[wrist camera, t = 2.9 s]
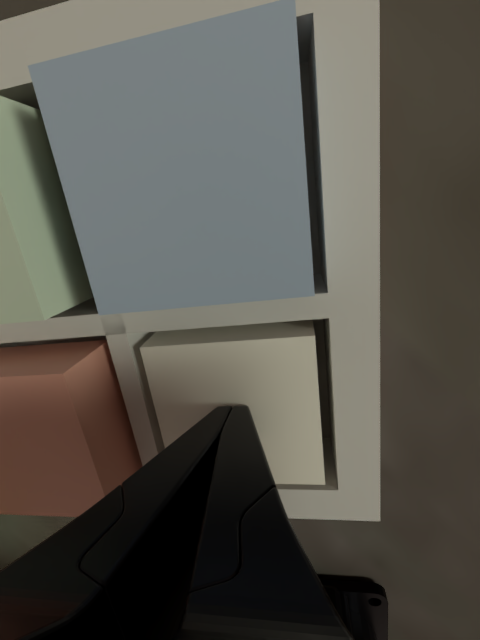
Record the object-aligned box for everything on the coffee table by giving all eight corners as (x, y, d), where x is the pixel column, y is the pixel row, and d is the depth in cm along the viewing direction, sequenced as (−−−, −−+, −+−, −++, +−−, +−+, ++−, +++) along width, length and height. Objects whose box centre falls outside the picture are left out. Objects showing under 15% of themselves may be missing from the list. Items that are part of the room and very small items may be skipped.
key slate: (309, 273, 8) (314, 296, 6) (140, 291, 9) (98, 315, 7) (294, 55, 7) (295, -4, 5) (94, 100, 7) (27, 65, 5)
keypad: (362, 455, 12) (379, 521, 9) (45, 455, 14) (-6, 508, 12) (352, 2, 8) (379, -91, 5) (-91, 112, 10) (-213, 83, 8)
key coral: (143, 463, 11) (112, 518, 9) (27, 463, 12) (-23, 513, 10) (108, 339, 9) (62, 373, 8) (-20, 349, 10) (-90, 382, 8)
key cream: (320, 436, 11) (325, 484, 9) (192, 437, 12) (173, 482, 10) (310, 309, 9) (314, 336, 8) (167, 321, 10) (139, 347, 8)
